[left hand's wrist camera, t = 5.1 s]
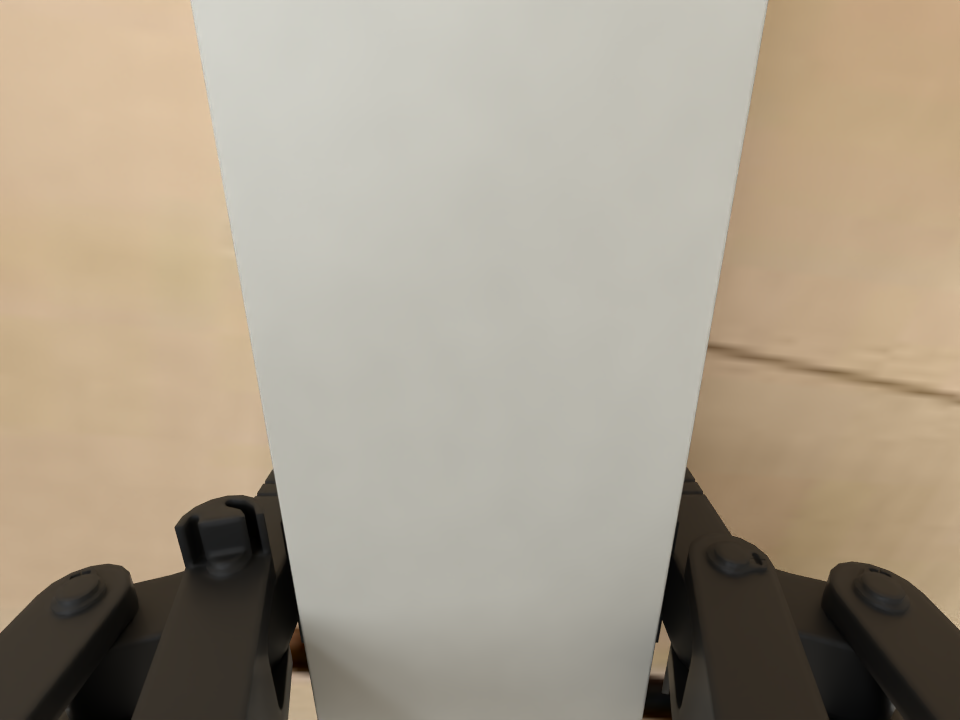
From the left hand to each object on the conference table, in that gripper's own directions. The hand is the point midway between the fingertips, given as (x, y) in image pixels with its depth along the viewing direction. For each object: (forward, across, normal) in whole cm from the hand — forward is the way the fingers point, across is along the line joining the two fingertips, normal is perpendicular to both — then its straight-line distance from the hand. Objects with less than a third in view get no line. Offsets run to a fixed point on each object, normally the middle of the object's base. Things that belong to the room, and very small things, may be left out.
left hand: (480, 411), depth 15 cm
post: (+1, 0, -22) cm, 23 cm away
